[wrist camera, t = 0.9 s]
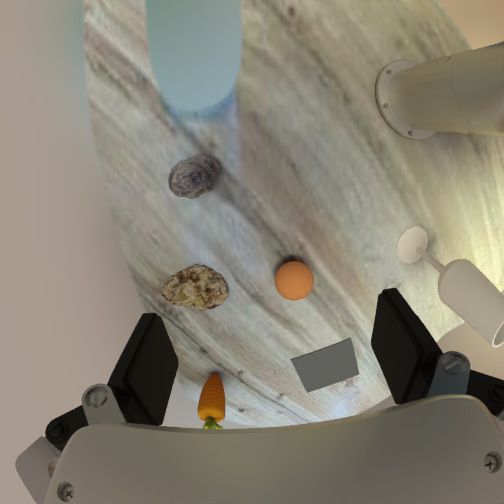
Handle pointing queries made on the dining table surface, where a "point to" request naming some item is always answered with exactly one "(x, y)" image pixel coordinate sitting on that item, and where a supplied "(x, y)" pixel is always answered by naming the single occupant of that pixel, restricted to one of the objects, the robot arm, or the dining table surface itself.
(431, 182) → the dining table surface
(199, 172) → the seashell
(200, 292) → the mineral rock
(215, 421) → the carrot
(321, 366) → the slate mark
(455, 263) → the champagne flute
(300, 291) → the ball
